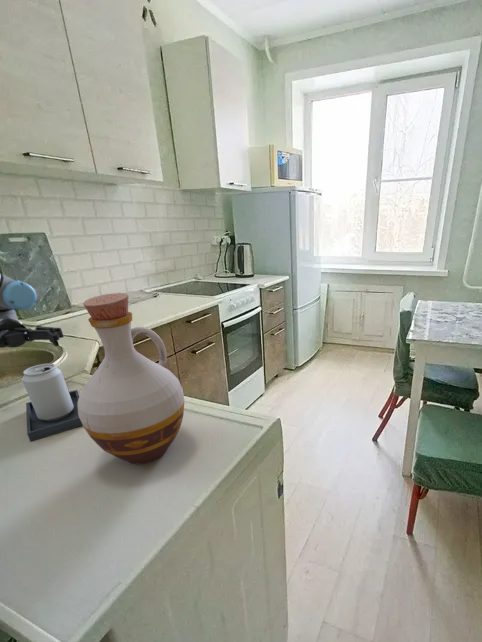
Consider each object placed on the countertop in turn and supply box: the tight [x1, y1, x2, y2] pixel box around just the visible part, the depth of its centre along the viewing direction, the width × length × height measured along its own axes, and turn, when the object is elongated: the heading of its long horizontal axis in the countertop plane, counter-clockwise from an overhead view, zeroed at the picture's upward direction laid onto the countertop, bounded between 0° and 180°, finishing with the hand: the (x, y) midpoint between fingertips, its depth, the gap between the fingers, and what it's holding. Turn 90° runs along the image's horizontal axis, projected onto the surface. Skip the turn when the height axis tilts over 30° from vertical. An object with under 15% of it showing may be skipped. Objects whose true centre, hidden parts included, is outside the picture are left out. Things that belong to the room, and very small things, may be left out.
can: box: [21, 363, 74, 421], centre depth 81 cm, size 8×8×12 cm
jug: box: [78, 292, 185, 465], centre depth 64 cm, size 20×18×30 cm
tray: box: [25, 389, 83, 442], centre depth 83 cm, size 17×11×2 cm, turn 35°
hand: (24, 348), depth 85 cm, fingers open, 13 cm apart
